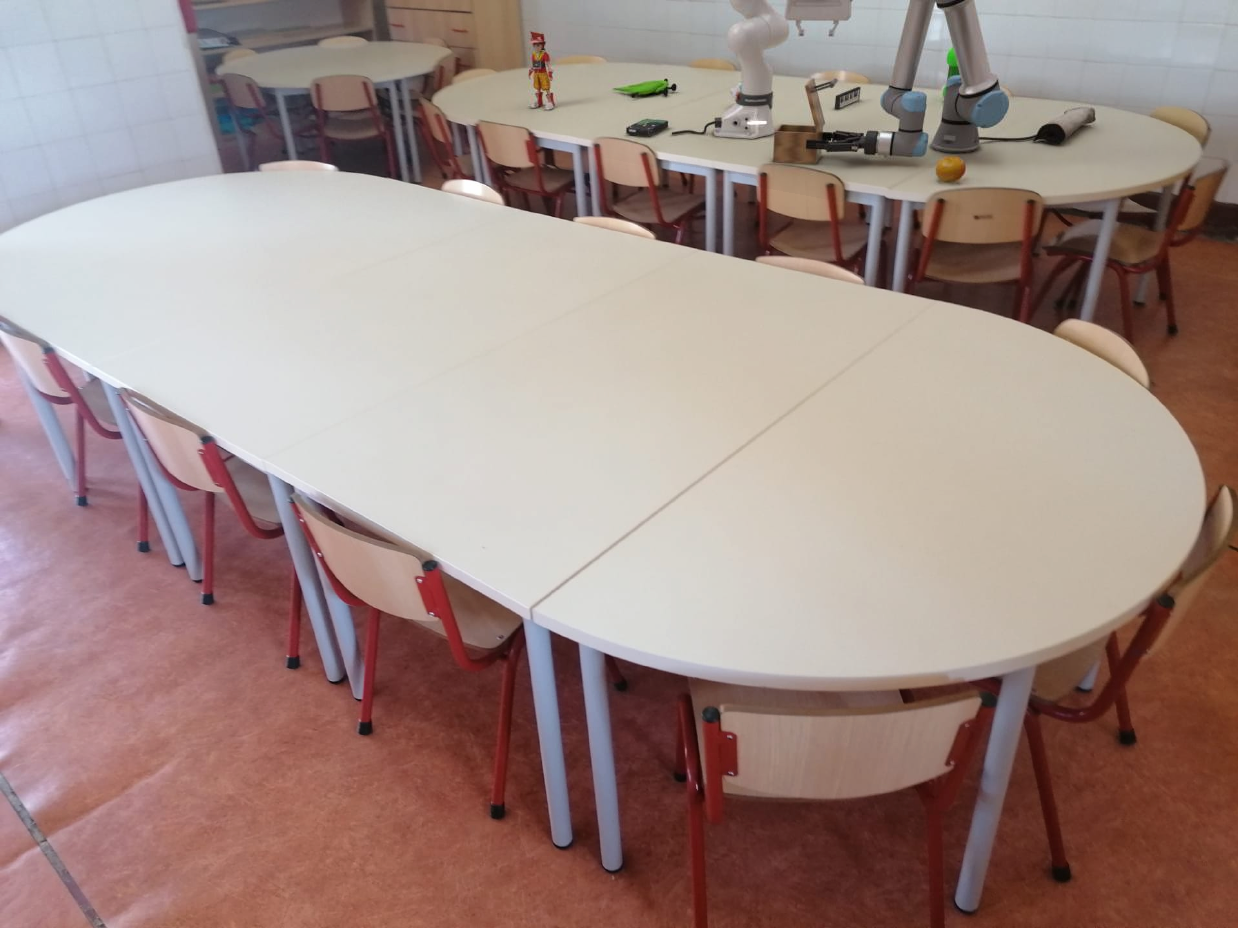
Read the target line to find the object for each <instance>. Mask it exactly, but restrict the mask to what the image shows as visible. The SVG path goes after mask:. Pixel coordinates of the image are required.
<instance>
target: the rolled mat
mask: <svg viewBox="0 0 1238 928" xmlns="http://www.w3.org/2000/svg"><path fill="white" fill-rule="evenodd" d="M1096 119H1097V118H1096V109H1095V108H1094V107H1087V106H1083V107H1074V108H1069V109H1066V110H1064V112H1063V114H1061V115H1059V116H1057V117H1055V118H1054V119H1052V120H1050V121H1048V122H1046V123H1045V124H1043V125H1042V126H1040V128H1039V129H1038V131H1037V132H1036V134H1035V135H1036V136H1035V138H1033V139H1032V142H1033V143H1035V142H1037V141H1042V140H1043V141H1044V142H1046V143H1047V144H1051V145H1057V146H1059V145H1061V144H1063V143H1064V142H1065V141H1066V140H1067V139H1068V138H1069V137H1070V136H1071V135H1072V134H1073V133H1074V132H1076V131H1077V130H1078V129H1079V128H1081V126H1083V125H1088V124H1093V123H1095V121H1096Z"/></svg>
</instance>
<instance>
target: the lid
mask: <svg viewBox="0 0 1238 928" xmlns="http://www.w3.org/2000/svg"><path fill="white" fill-rule="evenodd" d="M838 82H839V80H838V79H837V78H836V77H835V78H833V79H832V80H829V81H827V82H824V83H820V84H816V81H815V78H810V80H809V81H807V83H806V84H805V85H804V89H805V93H806V97H807V100H808V101H807V102H808V104H809V109H810V114H811V116H812V120H813V124H814V125H813V126H815V129H816V132H818V131H820V130H821V129H822V127H823V128H824V126H825V125H826V121H825V117H824V113H823V110H822V105H821V100H820V97H819V91H820V92H821V91H823V90H826V89H829V88H831V89H833V88H834V87H835V86H836V84H837V83H838Z"/></svg>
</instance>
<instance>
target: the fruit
mask: <svg viewBox="0 0 1238 928" xmlns="http://www.w3.org/2000/svg"><path fill="white" fill-rule="evenodd" d="M966 171H967V165H966V163H965V161H964V160H963V159H962V158H960V157H958V156H953V155H952V156H951V155H949V156H945V157H943V158H941V159H940V160H939V161H938V162H937V164H936V167H935V175H936V177H937V178H938V179H939V180H940V181H942V182H946V183H954V182H958V181H959V180H960V179H962V178H963V177H964V176H965V173H966Z"/></svg>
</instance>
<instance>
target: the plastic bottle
mask: <svg viewBox="0 0 1238 928" xmlns="http://www.w3.org/2000/svg"><path fill="white" fill-rule="evenodd" d="M946 63H947V64H948V69H947V70H948V71H947V76H946V77H947V78H946V81H947V80H948V79H949V78H950V77H951V76H956V75H960V73H959V69H958V65H957V61H956V57H955V53H954V49H953V46H952V47H951V48H950V49H949V50H948V52H947V54H946ZM945 87H946V84H945V85H944V87H943V90H942V97H943V98H944V97H945Z"/></svg>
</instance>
